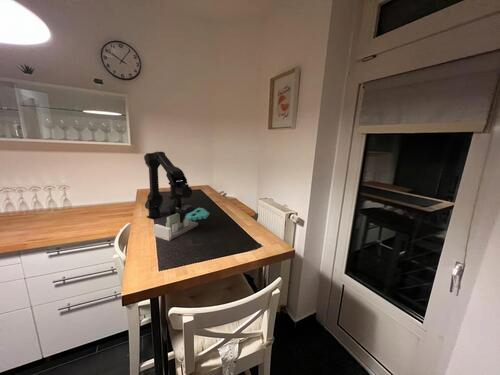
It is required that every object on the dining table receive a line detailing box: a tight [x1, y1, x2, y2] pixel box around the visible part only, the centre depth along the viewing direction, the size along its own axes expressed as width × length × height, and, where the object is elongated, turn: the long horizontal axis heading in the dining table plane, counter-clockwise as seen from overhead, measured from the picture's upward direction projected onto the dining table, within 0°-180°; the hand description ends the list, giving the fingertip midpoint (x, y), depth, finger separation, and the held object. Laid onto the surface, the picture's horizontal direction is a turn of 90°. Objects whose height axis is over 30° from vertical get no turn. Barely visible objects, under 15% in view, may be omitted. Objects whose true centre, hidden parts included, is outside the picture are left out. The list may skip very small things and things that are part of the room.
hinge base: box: [153, 218, 199, 242], centre depth 113 cm, size 10×22×6 cm, turn 155°
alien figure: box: [186, 207, 210, 222], centre depth 136 cm, size 20×2×20 cm
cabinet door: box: [166, 212, 186, 232], centre depth 112 cm, size 3×12×8 cm, turn 155°
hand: (177, 221), depth 113 cm, fingers open, 5 cm apart
